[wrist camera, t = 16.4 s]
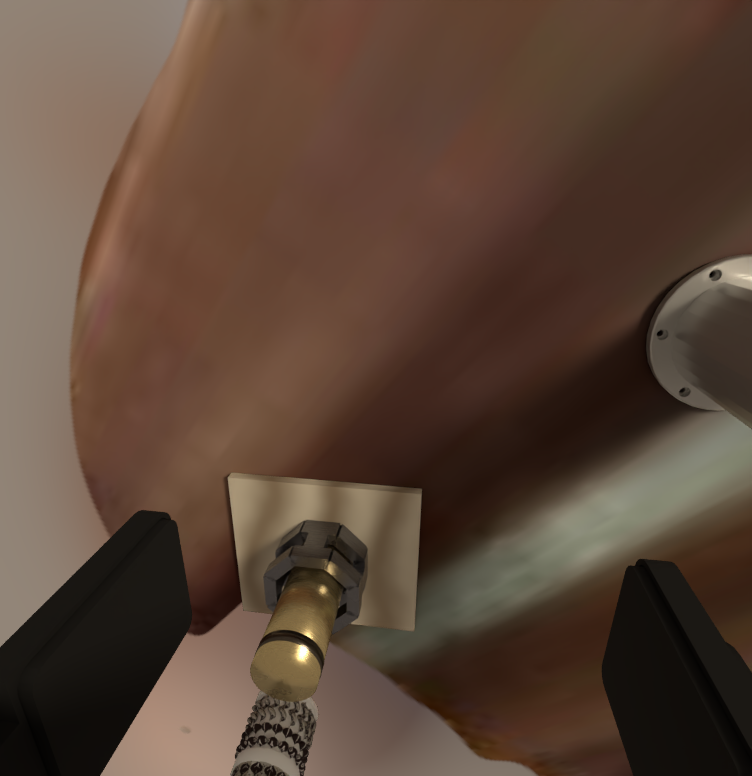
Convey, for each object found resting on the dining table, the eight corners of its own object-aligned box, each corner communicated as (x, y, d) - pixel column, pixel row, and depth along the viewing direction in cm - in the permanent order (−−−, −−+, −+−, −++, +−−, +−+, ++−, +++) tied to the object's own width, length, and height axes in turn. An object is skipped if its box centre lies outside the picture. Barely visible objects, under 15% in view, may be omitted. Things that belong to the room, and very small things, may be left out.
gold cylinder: (350, 538, 50) (317, 655, 37) (351, 581, 52) (319, 706, 39) (297, 533, 50) (246, 646, 37) (300, 575, 52) (252, 696, 40)
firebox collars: (367, 525, 49) (358, 562, 44) (367, 596, 52) (359, 638, 47) (279, 517, 50) (260, 552, 45) (284, 586, 53) (267, 627, 48)
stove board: (422, 488, 48) (421, 494, 47) (414, 624, 54) (414, 631, 53) (231, 472, 50) (227, 477, 49) (246, 603, 57) (243, 610, 56)
